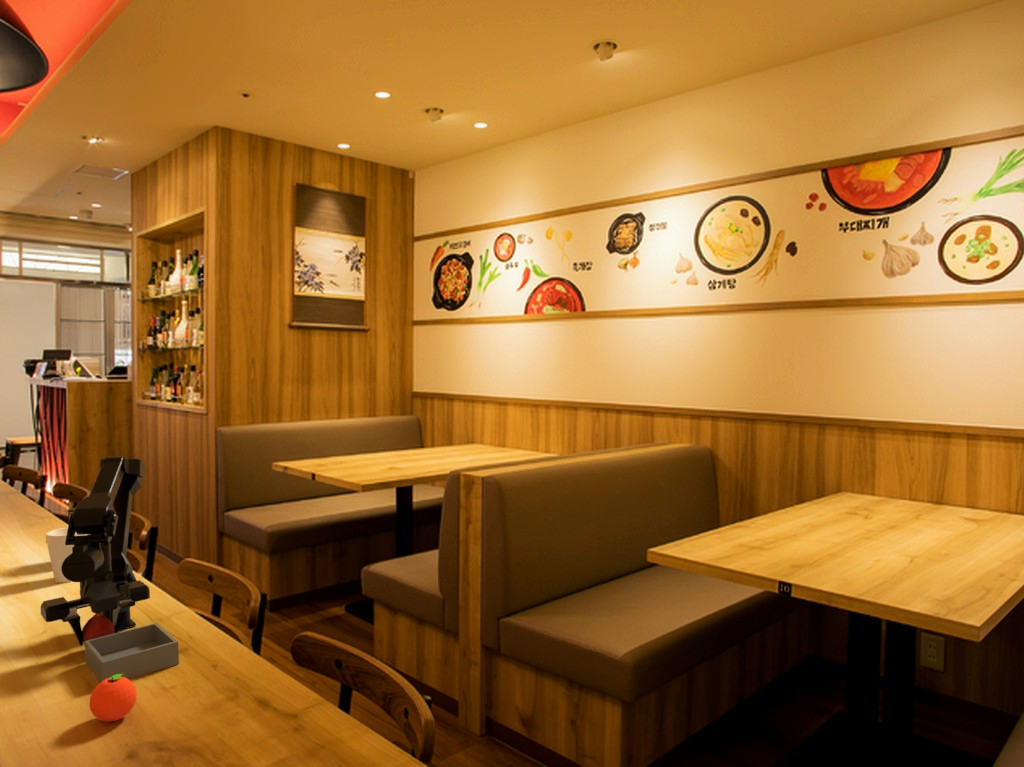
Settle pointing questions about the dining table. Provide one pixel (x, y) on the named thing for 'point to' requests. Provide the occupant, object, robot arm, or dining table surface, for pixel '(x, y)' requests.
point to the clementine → (113, 698)
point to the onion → (97, 627)
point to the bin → (131, 652)
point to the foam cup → (58, 551)
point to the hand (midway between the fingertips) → (98, 640)
